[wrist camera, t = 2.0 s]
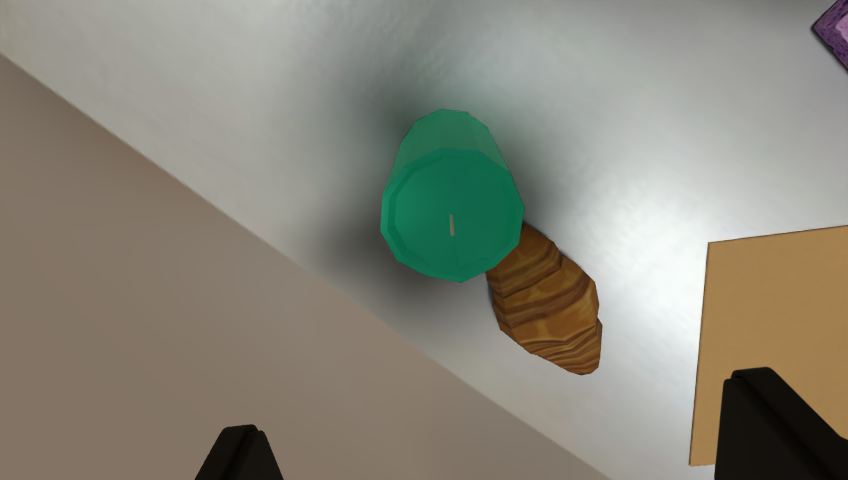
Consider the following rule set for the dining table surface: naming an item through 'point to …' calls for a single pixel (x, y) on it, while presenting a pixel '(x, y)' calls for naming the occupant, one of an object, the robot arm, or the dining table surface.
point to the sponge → (836, 29)
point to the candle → (450, 199)
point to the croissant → (547, 304)
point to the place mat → (774, 324)
